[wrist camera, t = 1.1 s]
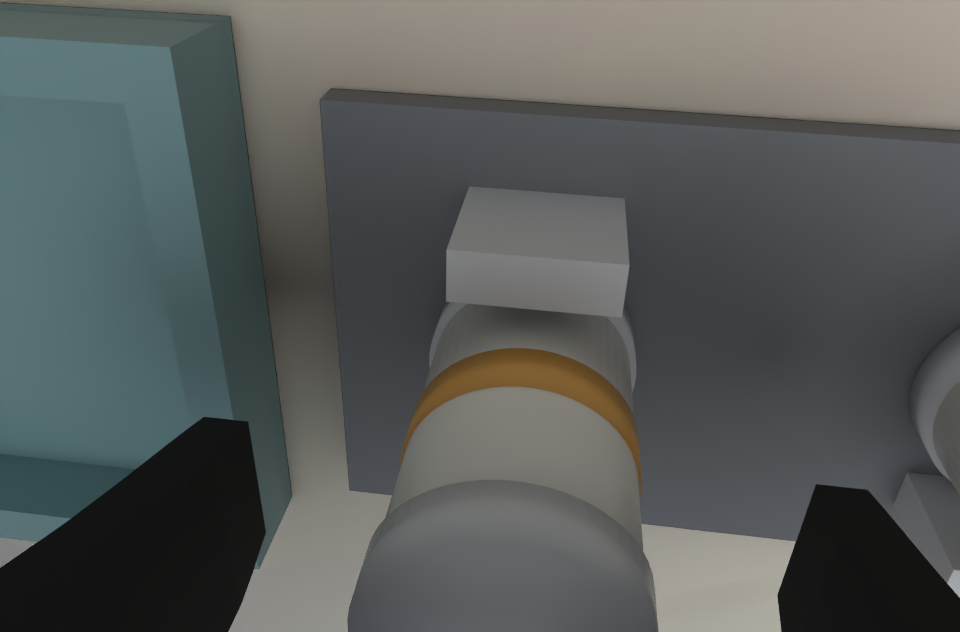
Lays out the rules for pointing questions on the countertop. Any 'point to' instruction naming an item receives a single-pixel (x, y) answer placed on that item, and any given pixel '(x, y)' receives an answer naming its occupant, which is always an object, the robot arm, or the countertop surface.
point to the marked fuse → (516, 484)
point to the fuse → (940, 406)
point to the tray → (124, 258)
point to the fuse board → (665, 287)
